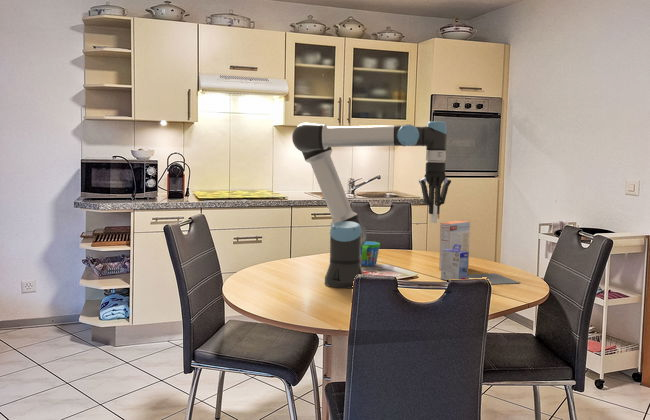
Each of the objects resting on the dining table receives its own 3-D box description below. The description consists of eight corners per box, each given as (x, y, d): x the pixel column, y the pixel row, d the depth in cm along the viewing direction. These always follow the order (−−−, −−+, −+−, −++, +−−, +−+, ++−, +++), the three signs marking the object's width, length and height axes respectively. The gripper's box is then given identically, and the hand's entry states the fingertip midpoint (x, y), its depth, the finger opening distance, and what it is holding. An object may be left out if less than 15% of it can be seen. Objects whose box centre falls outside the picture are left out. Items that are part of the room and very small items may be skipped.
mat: (474, 285, 229) (474, 284, 229) (452, 275, 246) (452, 274, 246) (519, 283, 234) (520, 282, 234) (495, 273, 251) (495, 273, 251)
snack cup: (362, 261, 274) (363, 239, 273) (384, 263, 270) (385, 241, 269) (350, 267, 260) (351, 244, 259) (373, 269, 256) (373, 246, 255)
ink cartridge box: (468, 282, 234) (469, 246, 233) (458, 284, 231) (460, 247, 230) (449, 277, 242) (450, 242, 241) (440, 279, 239) (441, 243, 238)
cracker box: (457, 266, 267) (459, 220, 265) (468, 268, 263) (471, 221, 261) (437, 269, 258) (439, 221, 256) (449, 271, 254) (451, 223, 252)
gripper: (424, 161, 224) (422, 223, 226) (455, 162, 227) (453, 223, 230) (416, 161, 231) (414, 221, 234) (446, 161, 235) (444, 220, 237)
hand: (433, 222), depth 232 cm, fingers closed
